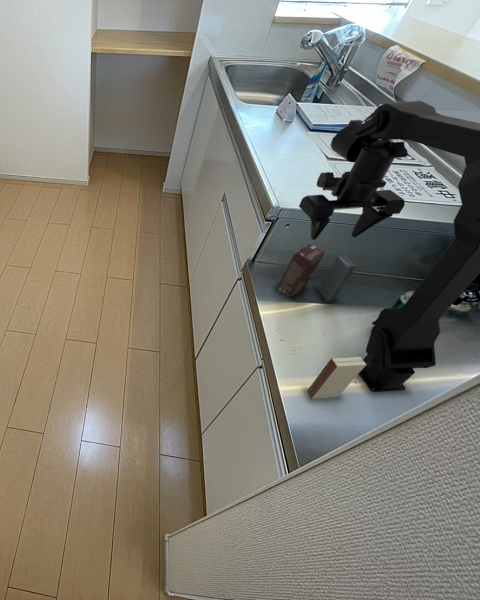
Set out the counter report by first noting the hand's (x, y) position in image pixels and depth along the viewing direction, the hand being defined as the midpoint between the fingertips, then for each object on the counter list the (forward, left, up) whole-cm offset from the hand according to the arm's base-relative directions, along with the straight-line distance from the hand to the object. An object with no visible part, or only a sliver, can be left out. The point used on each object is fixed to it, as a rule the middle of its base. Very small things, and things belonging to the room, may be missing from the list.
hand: (332, 237), depth 80 cm
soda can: (-18, -8, -15) cm, 25 cm away
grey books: (-4, -2, -15) cm, 16 cm away
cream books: (-31, +12, -15) cm, 37 cm away
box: (-1, +5, -15) cm, 16 cm away
